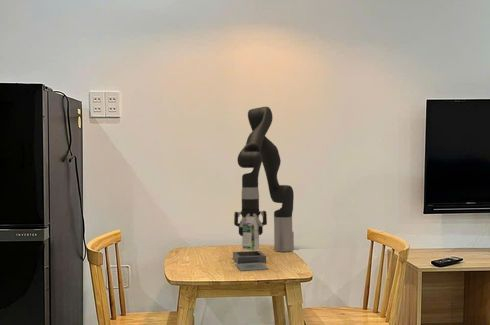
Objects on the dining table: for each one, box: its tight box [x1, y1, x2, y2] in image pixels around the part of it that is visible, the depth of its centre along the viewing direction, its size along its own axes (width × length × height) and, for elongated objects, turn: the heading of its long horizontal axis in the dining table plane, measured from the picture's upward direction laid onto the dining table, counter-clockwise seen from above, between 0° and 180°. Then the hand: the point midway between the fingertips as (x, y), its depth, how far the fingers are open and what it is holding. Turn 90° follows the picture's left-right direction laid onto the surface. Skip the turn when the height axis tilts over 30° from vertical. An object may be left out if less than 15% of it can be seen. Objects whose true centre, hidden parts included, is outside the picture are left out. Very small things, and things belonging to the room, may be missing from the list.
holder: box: [232, 250, 267, 264], centre depth 226 cm, size 13×13×3 cm
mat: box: [234, 262, 269, 272], centre depth 212 cm, size 12×12×1 cm
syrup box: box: [241, 215, 260, 251], centre depth 212 cm, size 6×6×14 cm
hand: (250, 235), depth 212 cm, fingers closed on syrup box, 8 cm apart
